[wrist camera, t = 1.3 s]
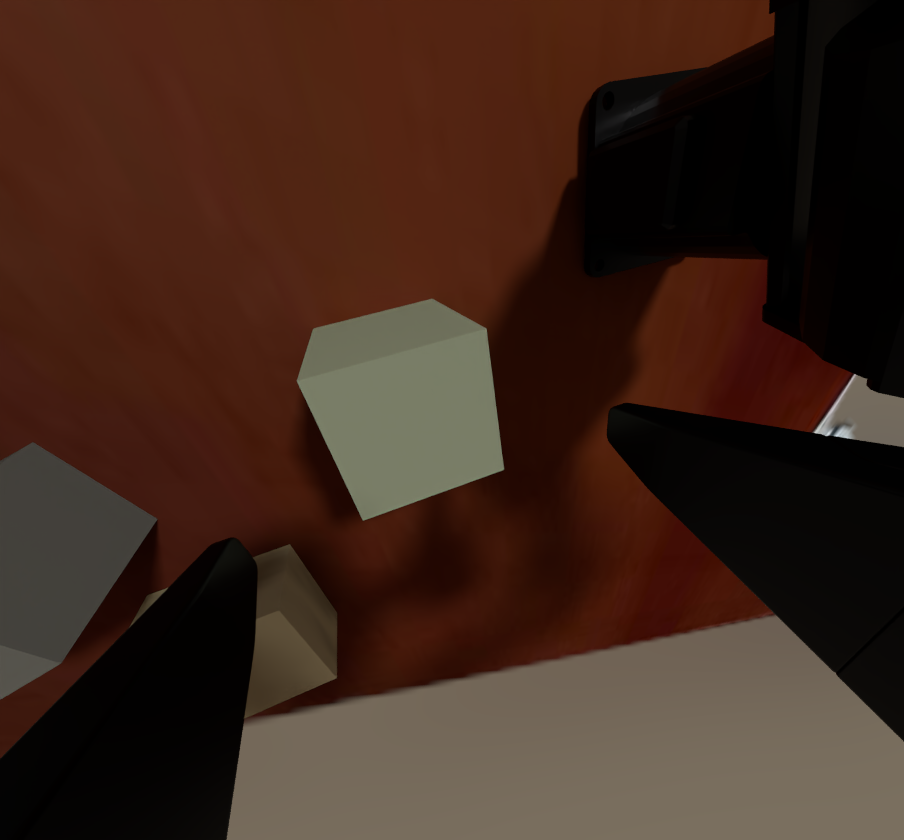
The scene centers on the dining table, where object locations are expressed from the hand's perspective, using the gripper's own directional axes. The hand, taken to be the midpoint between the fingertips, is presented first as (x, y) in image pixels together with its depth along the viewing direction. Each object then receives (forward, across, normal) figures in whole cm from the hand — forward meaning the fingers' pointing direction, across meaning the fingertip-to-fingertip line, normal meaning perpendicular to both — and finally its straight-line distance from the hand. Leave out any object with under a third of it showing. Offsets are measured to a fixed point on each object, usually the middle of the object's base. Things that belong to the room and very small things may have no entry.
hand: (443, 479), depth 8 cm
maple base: (+8, +12, +11) cm, 18 cm away
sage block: (+8, 0, 0) cm, 8 cm away
